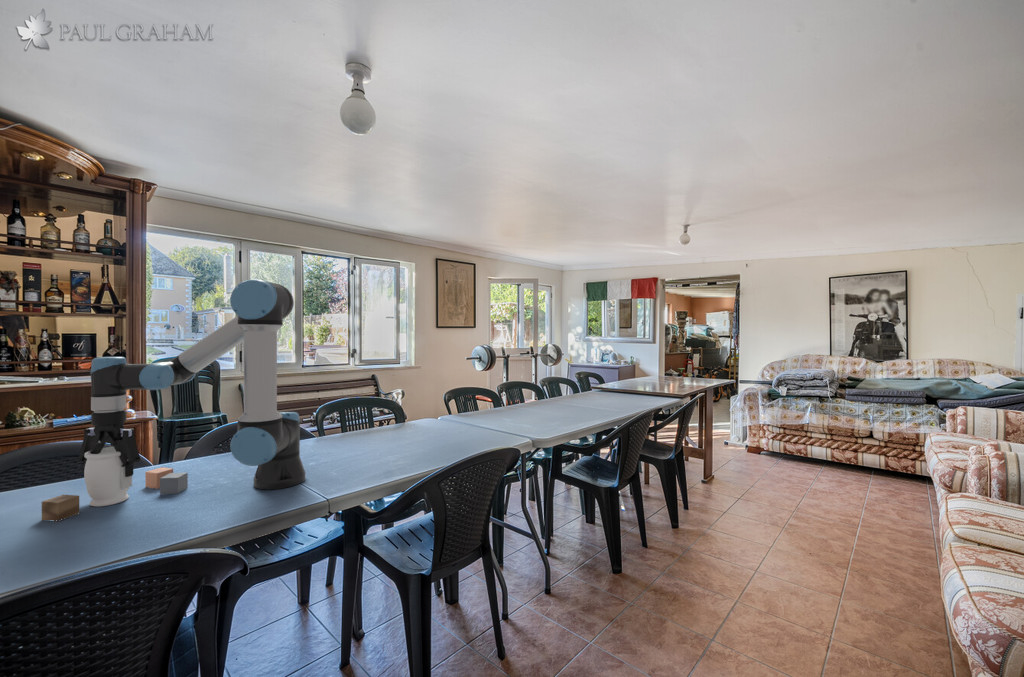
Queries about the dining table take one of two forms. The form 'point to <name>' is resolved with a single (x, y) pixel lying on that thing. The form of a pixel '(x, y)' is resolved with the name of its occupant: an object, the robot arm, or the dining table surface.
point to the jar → (104, 477)
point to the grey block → (173, 483)
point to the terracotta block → (156, 476)
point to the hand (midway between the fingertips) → (109, 486)
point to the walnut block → (60, 507)
